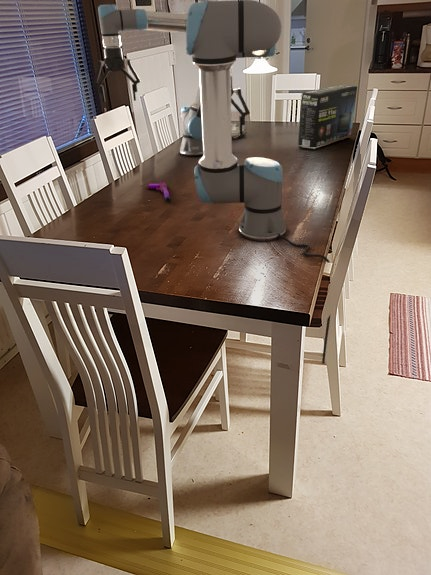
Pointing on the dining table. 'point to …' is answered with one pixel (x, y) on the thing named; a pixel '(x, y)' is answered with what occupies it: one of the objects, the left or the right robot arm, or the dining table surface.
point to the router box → (326, 115)
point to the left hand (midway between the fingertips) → (119, 101)
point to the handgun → (162, 188)
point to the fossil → (236, 130)
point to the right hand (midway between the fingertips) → (223, 135)
